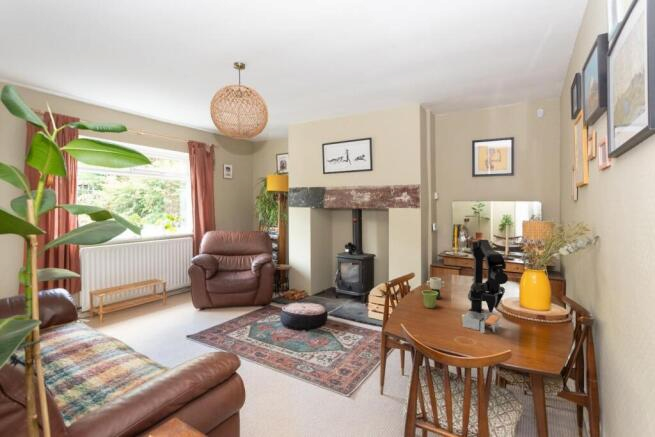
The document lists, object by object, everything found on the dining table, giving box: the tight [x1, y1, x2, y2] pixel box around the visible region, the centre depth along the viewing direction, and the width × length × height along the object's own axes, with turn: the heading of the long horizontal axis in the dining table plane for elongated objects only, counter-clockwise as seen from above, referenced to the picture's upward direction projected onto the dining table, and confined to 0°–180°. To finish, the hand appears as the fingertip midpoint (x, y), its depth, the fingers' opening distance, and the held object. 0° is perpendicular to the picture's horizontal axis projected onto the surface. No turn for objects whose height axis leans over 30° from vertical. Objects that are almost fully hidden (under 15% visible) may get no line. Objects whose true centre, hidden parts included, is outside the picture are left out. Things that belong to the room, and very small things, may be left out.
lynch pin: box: [460, 313, 491, 328], centre depth 168 cm, size 4×13×4 cm, turn 49°
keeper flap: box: [483, 315, 501, 326], centre depth 164 cm, size 12×5×1 cm, turn 139°
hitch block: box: [462, 311, 499, 334], centre depth 167 cm, size 14×14×6 cm
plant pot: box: [421, 289, 438, 309], centre depth 199 cm, size 9×9×9 cm
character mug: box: [426, 276, 445, 300], centre depth 215 cm, size 11×7×13 cm, turn 74°
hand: (493, 309), depth 163 cm, fingers open, 9 cm apart
